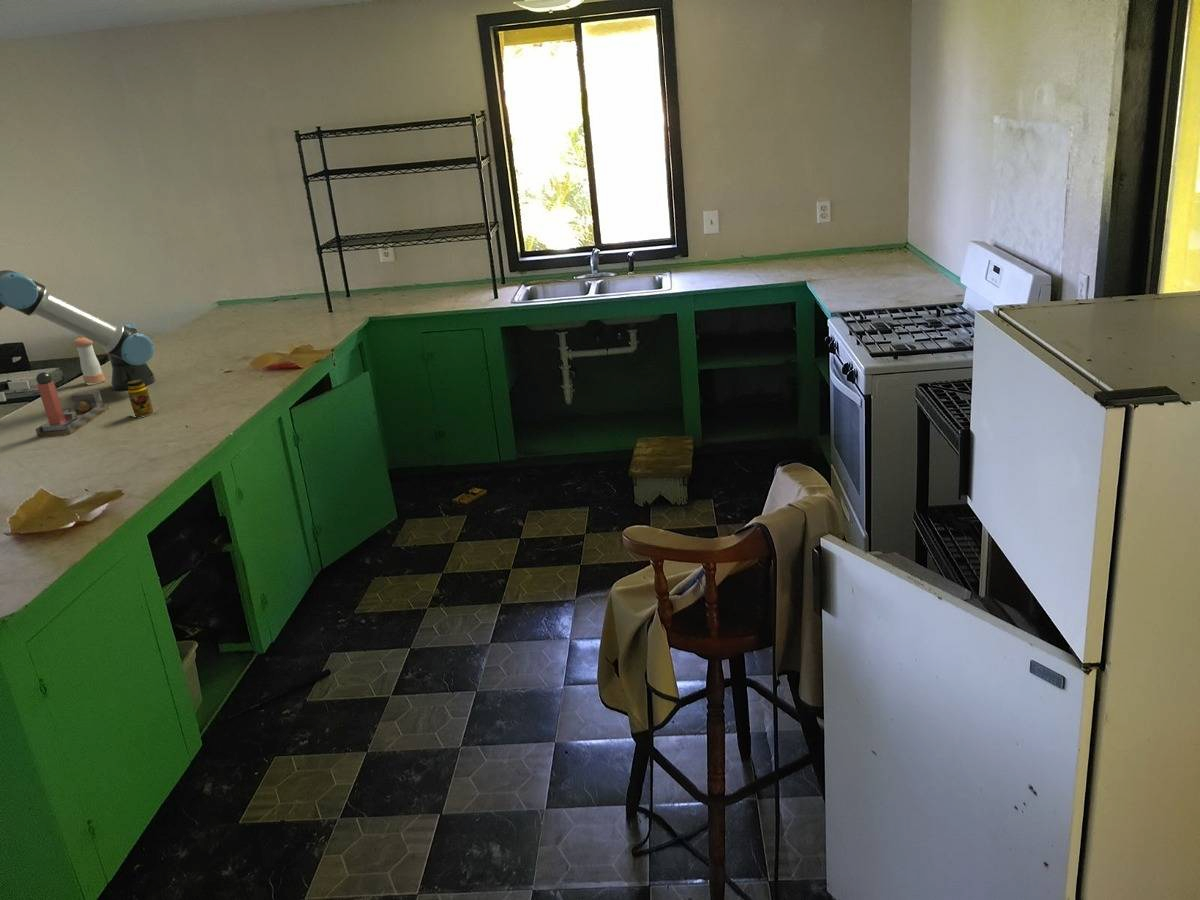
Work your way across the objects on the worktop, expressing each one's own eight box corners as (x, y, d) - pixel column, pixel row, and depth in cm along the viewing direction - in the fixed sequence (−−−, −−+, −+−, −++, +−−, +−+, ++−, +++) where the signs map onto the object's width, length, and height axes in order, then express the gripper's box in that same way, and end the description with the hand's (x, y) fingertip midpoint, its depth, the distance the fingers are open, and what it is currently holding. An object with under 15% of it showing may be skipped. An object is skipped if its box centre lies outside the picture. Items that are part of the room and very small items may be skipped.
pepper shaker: (99, 384, 367) (85, 337, 360) (81, 386, 367) (67, 338, 361) (108, 379, 374) (95, 332, 367) (91, 380, 374) (77, 333, 367)
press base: (78, 411, 333) (72, 392, 330) (108, 409, 333) (103, 389, 330) (37, 437, 309) (31, 416, 306) (70, 434, 308) (64, 413, 306)
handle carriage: (58, 422, 318) (41, 368, 311) (80, 420, 317) (63, 366, 311) (43, 431, 309) (25, 376, 302) (65, 429, 309) (48, 374, 302)
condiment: (141, 418, 318) (132, 384, 313) (126, 416, 322) (116, 383, 318) (160, 411, 324) (151, 378, 319) (144, 409, 328) (135, 376, 323)
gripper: (-20, 395, 320) (41, 390, 320) (-69, 418, 297) (-3, 413, 296) (-27, 374, 318) (34, 369, 317) (-77, 396, 294) (-10, 390, 294)
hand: (16, 390), depth 307 cm, fingers open, 13 cm apart
